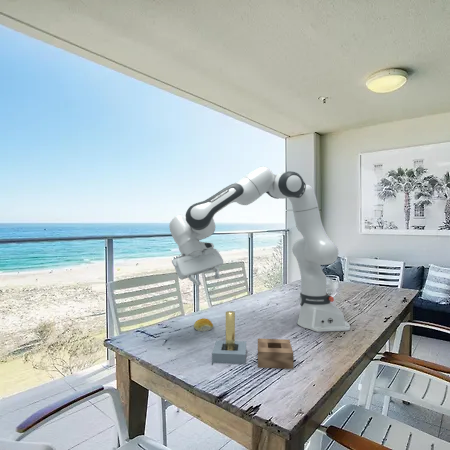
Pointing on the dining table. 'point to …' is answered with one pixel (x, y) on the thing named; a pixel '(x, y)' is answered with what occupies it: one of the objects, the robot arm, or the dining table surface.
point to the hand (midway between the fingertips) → (208, 281)
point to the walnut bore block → (275, 353)
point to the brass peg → (230, 330)
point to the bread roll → (203, 325)
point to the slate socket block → (229, 353)
